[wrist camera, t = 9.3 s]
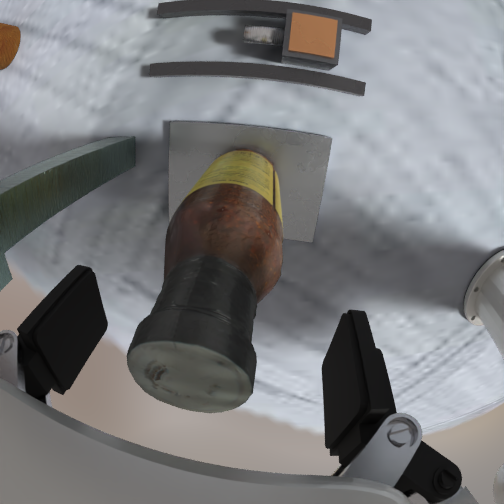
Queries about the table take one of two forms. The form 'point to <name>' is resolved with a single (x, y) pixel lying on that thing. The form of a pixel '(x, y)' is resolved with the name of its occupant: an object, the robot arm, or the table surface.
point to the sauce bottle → (213, 288)
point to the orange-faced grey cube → (302, 39)
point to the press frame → (190, 141)
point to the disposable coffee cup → (8, 44)
